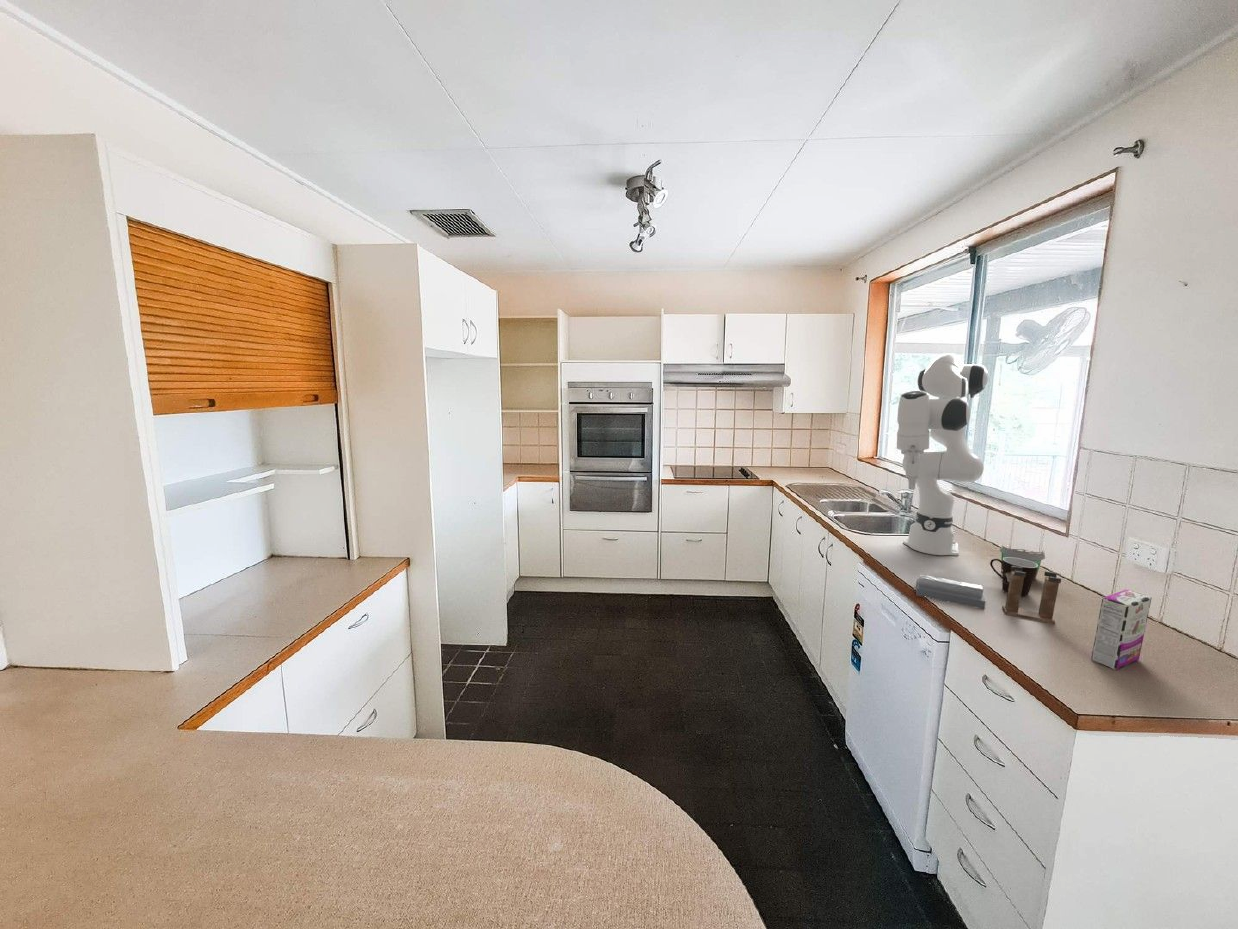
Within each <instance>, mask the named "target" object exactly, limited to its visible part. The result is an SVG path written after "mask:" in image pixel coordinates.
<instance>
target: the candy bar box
mask: <svg viewBox="0 0 1238 929" xmlns="http://www.w3.org/2000/svg"><path fill="white" fill-rule="evenodd" d="M1152 599H1153V598H1152V596H1148V595H1147V594H1142V593H1139V592H1136V591H1133V590H1130V589H1124V590H1121V591H1118V592H1115V593H1112V594H1108V595H1105V596H1103V597H1102V599H1101V604H1100V610H1099V616H1098V619H1097V620H1098V621H1097V626H1096V630H1095V631H1096V632H1095V638H1094V641H1093V642H1094V643H1093V646H1092V647H1093V648H1092V652H1091V658H1090V660H1091V661H1093V662H1095V663H1097V664H1099V665H1101V666H1104V667H1107V668H1109V669H1112V670H1115V671H1117V670H1119V669H1122V668H1124V667H1126V666H1129V665H1131V664H1132V663H1135V662H1137V661H1139V660H1140V656H1141V652H1142V646H1143V642H1144V638H1145V637H1144V636H1145V632H1146V627H1147V623H1148V617H1149V613H1150V607H1151V603H1152Z"/></svg>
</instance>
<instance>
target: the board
mask: <svg viewBox="0 0 1238 929" xmlns="http://www.w3.org/2000/svg"><path fill="white" fill-rule="evenodd" d="M915 592H916V596H918V597H923V596H926V597H925V598H927V597H930V598H929V599H932V598H934V599H933V600H937V601H943V602H947V601H949V602H948V603H953V604H958V605H962V606H967V607H972V608H977V609H983V610H985V607H986V600H985V597H984V595H983V594H984V593H982V598H981V597H976V596H971V595H966V594H961V593H955V592H950V591H945V590H940V589H935V588H929V587H924V586H919V578H916V583H915ZM923 598H924V597H923Z"/></svg>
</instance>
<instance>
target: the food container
mask: <svg viewBox="0 0 1238 929" xmlns="http://www.w3.org/2000/svg"><path fill="white" fill-rule="evenodd" d="M999 552H1001V559H1000V560H1001V561H1003V558H1005V557H1014V558H1021V559H1025V560H1029V561H1032V562H1034V563H1036V564H1037V565H1038V568H1037V571H1036V574H1035V577H1034V580H1033V582H1034V581H1036V579H1037V575H1038V573H1039V569H1040V566H1041V563H1042V560H1045V559H1046V555H1045V551H1044V550H1042V551H1032V550H1027V549H1022V548H1009V547H1006V546H1004V545H1003V544H1002V545H1001V547H1000V549H999ZM1000 573H1001V574H1000V575H1003V565H1002V564H1001V563H1000Z"/></svg>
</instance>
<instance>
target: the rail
mask: <svg viewBox="0 0 1238 929" xmlns="http://www.w3.org/2000/svg"><path fill="white" fill-rule="evenodd" d="M918 579H919V586H924V587H929V588H935V589H940V590H945V591H950V592H955V593H961V594H966V595H971V596H976V597H981V598H982V594H984V593H983V592H984V588H983V585H981V584H979V585H978V584H975V583H968V582H964V581H963V582H962V581H958V580H953V579H948V578H947V579H946V578H942V577H936V576H930V575H926V574H925V575H924V574H919V577H918Z"/></svg>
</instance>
